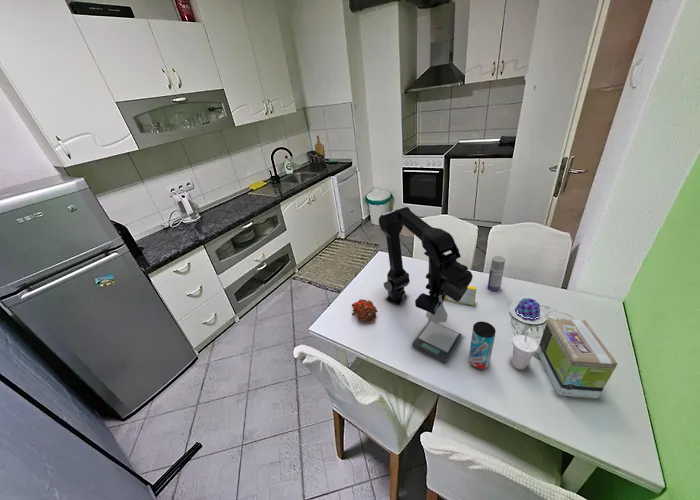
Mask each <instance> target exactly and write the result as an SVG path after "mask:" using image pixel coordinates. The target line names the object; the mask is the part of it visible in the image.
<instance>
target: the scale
mask: <svg viewBox="0 0 700 500" xmlns="http://www.w3.org/2000/svg"><path fill="white" fill-rule="evenodd" d="M462 334H463V333H460V332H458V331H455V330H454V329H451V328H449V327H446V326H444V325H442V324H441V323H435V322H431V321H429V320H428V322H427V323H426V325H425V326H424V327H423V328H422V330H421V332H420V333H419V334H418V335H417V337H416V338H415V339H414V340H413V342H412V345H411V346H412V348H414V349H415V350H417V351H419V352H421V353H423V354H424V355H427V356H429V357H431V358H432V359H435V360H437V361H439V362H440V363H443V364H445V365H446V364H447V363H448V361H449V359H450V357H451V356H452V354H453V353H454V351H455V349H456V348H457V346H458V344H460V343H459V342H460V341H461V339H462Z"/></svg>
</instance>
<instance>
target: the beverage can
mask: <svg viewBox="0 0 700 500" xmlns="http://www.w3.org/2000/svg"><path fill="white" fill-rule="evenodd" d="M496 332H497V331H496V328H495V326H494V325H493V324H492V323H489V322H486V321H477V322H474V324H473V326H472V333H471V339H470V346H469V355H468V361H469V364H470V365H471V366H472V367H473V368H475V369H477V370H485V369H487V368H488V367H489V366H490V363H491V356H492V352H493V348H494V342H495V338H496Z"/></svg>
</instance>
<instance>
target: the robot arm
mask: <svg viewBox="0 0 700 500" xmlns="http://www.w3.org/2000/svg"><path fill="white" fill-rule="evenodd" d="M378 225H379V227H380V230H381V232H382V233H383V234H384V235H385V237H386V239H385V240H386V246H387V255H388V263H389V271H388V272H387V275H386V279H387V280H386V281H385V282H383V288H384V289H385V290H386V291H387V297H386V299H385V300H386V301H388V302H390V303H393V304H395V305H397V306H400V305H401V304H402V302H404V301H405V300H406V298H407V296H408V295H406V290H405V287H408V285H409V284H410V282H411V281H410V274H409V272H407V271H406V270H405V269H404V264H403V255H402V247H401V237H400V234H401V232H402V230H403V228H404V227H405V228H406V229H407V230H408V231H410V232H411V233H412V234H413V235H414V236H416V237H417V238H418V239H419V240H420V241H421V246H422V248H423V249H424V252H423V255H425V256H426V257H427V258H428V272H427V274H425V279H428V282H427V283H426V285H425V289H426V290H428V293H424V292H423V293H419V295H418V297H417V298H416V299H415V300H414V305H415V307H416V308H418V309H420V310H423V311H425V312H427V311H428V312H430V313H431V314H433V315H435V313H436V310H437V308H438V307H439V306H440V305H441V303H443V304H444V301H445V300H444V299H445V296H446V295H447V296H449V297H450V298H452V299H453V300H454V301H456V302H455V303H457V302H459V301H460V299H461V298H462V296H463V295H464V294H465V292H466V291H467V288H468V286H470V284H471V282H472V280H473V278H474V277H473V276H474V275H473V273H472V272H471V271H470V270H469V268H468V266H467V265H465V264H462V263H461V262H458V261H457V260H458V259H460V258H462V256H461V255H462V254H461V253H460V249H459V248H458V246H457V243H456V242H455V239H454V237H453V235H452V234H450V232H448V231H446V230H444V229H443V228H438V227H433V226H431V225H429V223H427V222H425V220H423V219H422V218H421V217H419V216H418V215H416V214H415V213H414V212H413V211H411V209H410V207H409V206H402V207H399V208H396V209H394V210H392V211H389V212H386V213H383V214H381V215H380V216H379V218H378ZM447 252H450V253H448V254H445V253H447ZM440 295H442V302H439V296H440Z"/></svg>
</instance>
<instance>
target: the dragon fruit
mask: <svg viewBox="0 0 700 500" xmlns="http://www.w3.org/2000/svg"><path fill="white" fill-rule="evenodd" d="M351 307H352V309H353V310H352V312H351V316H352V317H354V316H358V320H360V321H361V322H363V321H367V322H370V321H371V320H375V319H376V318H377V313H378V312H379V311H378V309H377V307H376V306H375V305H374V303H373V301H371V300H369V299H368V300H367V299H361V298H360V299H358V301H355V302H353V303H352V304H351Z"/></svg>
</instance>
